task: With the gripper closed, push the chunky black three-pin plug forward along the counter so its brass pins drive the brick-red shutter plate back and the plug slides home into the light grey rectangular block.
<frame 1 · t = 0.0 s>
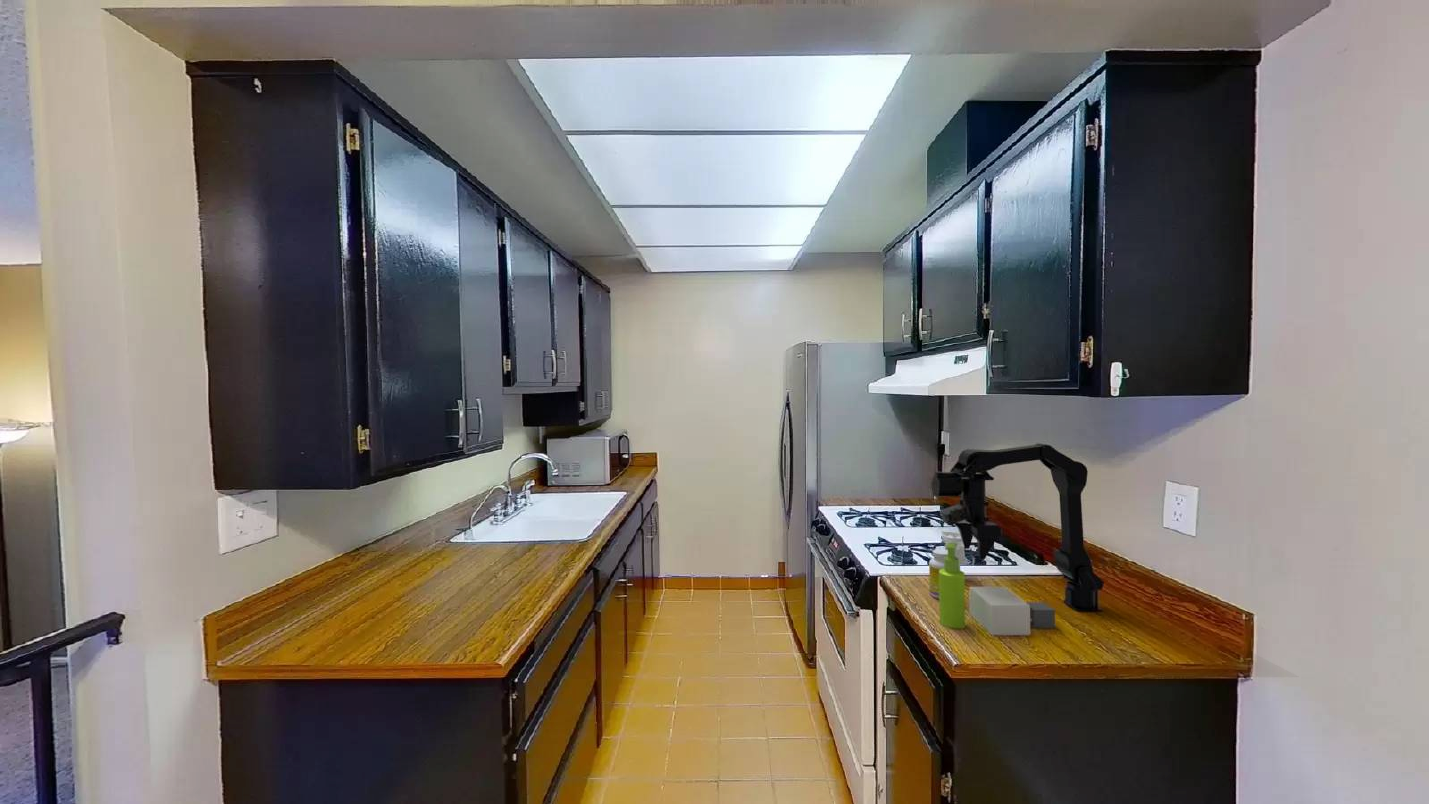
hand: (974, 553, 141), 15 cm above the counter, fingers open, 9 cm apart
strainer: (955, 579, 162), on the counter
supplement bottle: (942, 596, 149), on the counter
shutter: (1014, 613, 131), point 3 cm above the counter, slide at 0.0 cm
light grey rectangular block: (998, 623, 131), on the counter
soap dispenser: (952, 623, 133), on the counter
plug: (1039, 624, 131), on the counter
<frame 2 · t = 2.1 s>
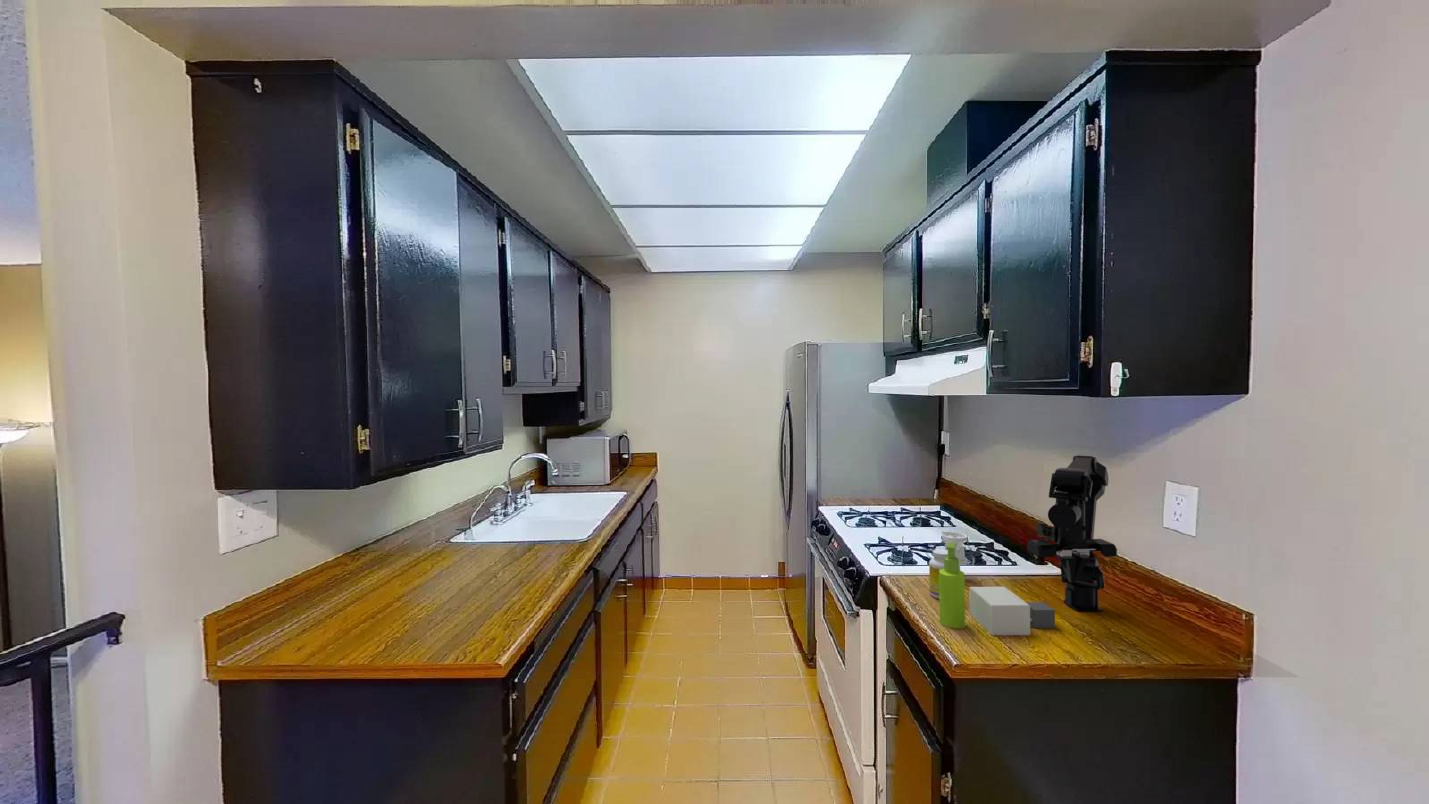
hand: (1071, 581, 130), 11 cm above the counter, fingers closed
nothing on the counter moved.
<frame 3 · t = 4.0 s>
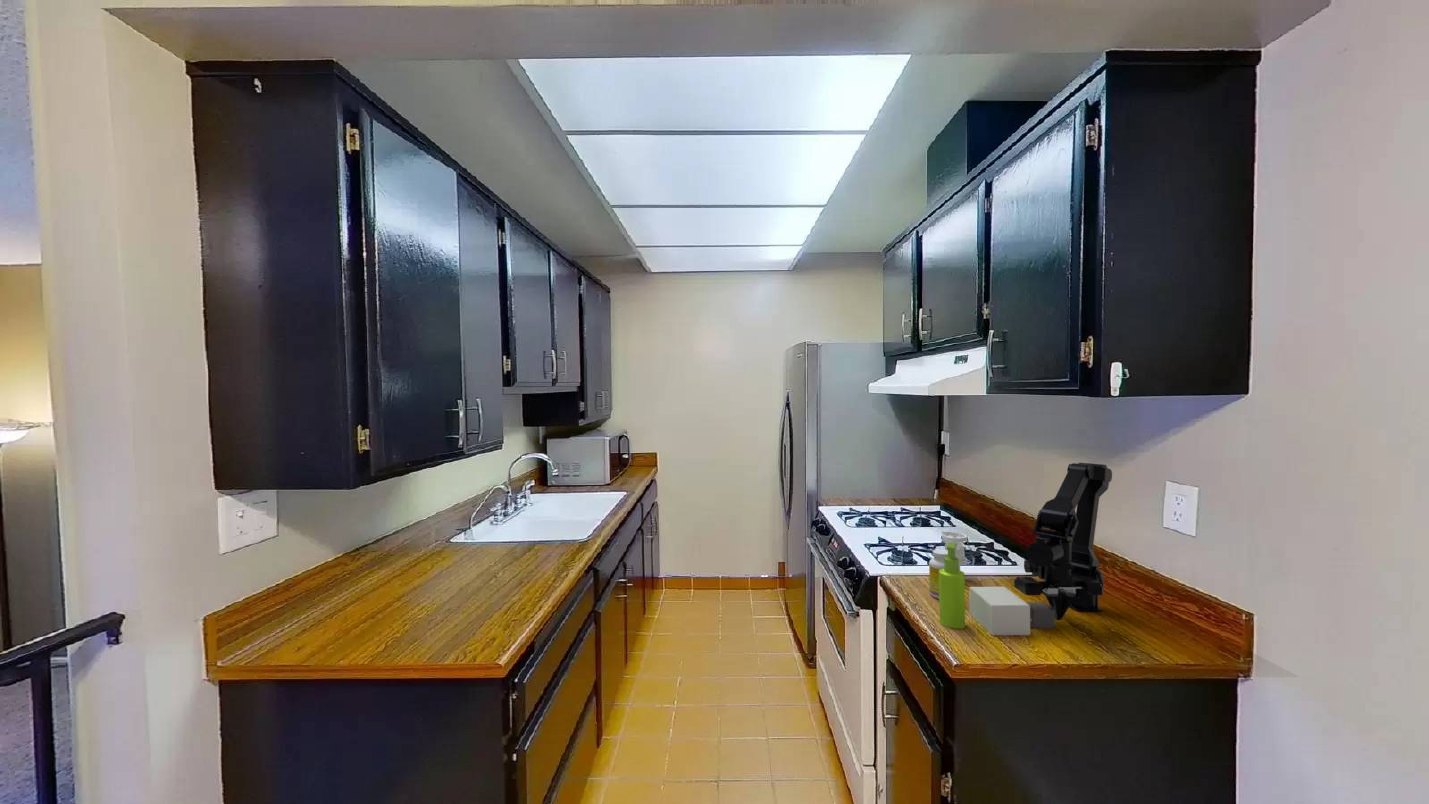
hand: (1057, 619, 130), 1 cm above the counter, fingers closed
plug: (1039, 624, 131), on the counter, touching gripper
everything else where it was.
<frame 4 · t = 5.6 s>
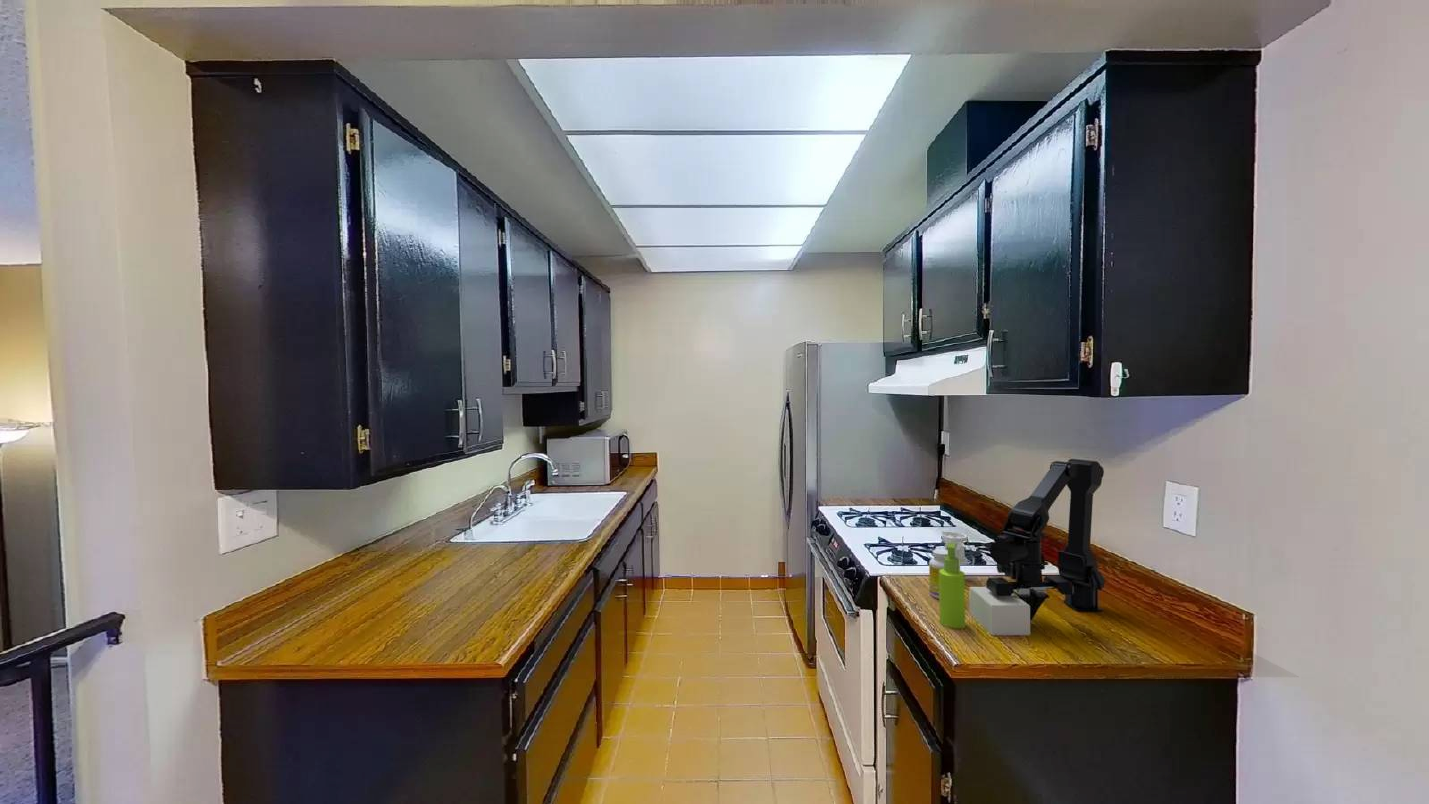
hand: (1029, 619, 131), 1 cm above the counter, fingers closed
shutter: (995, 613, 131), point 3 cm above the counter, slide at 4.7 cm
plug: (1011, 623, 131), on the counter, touching gripper
everything else where it was.
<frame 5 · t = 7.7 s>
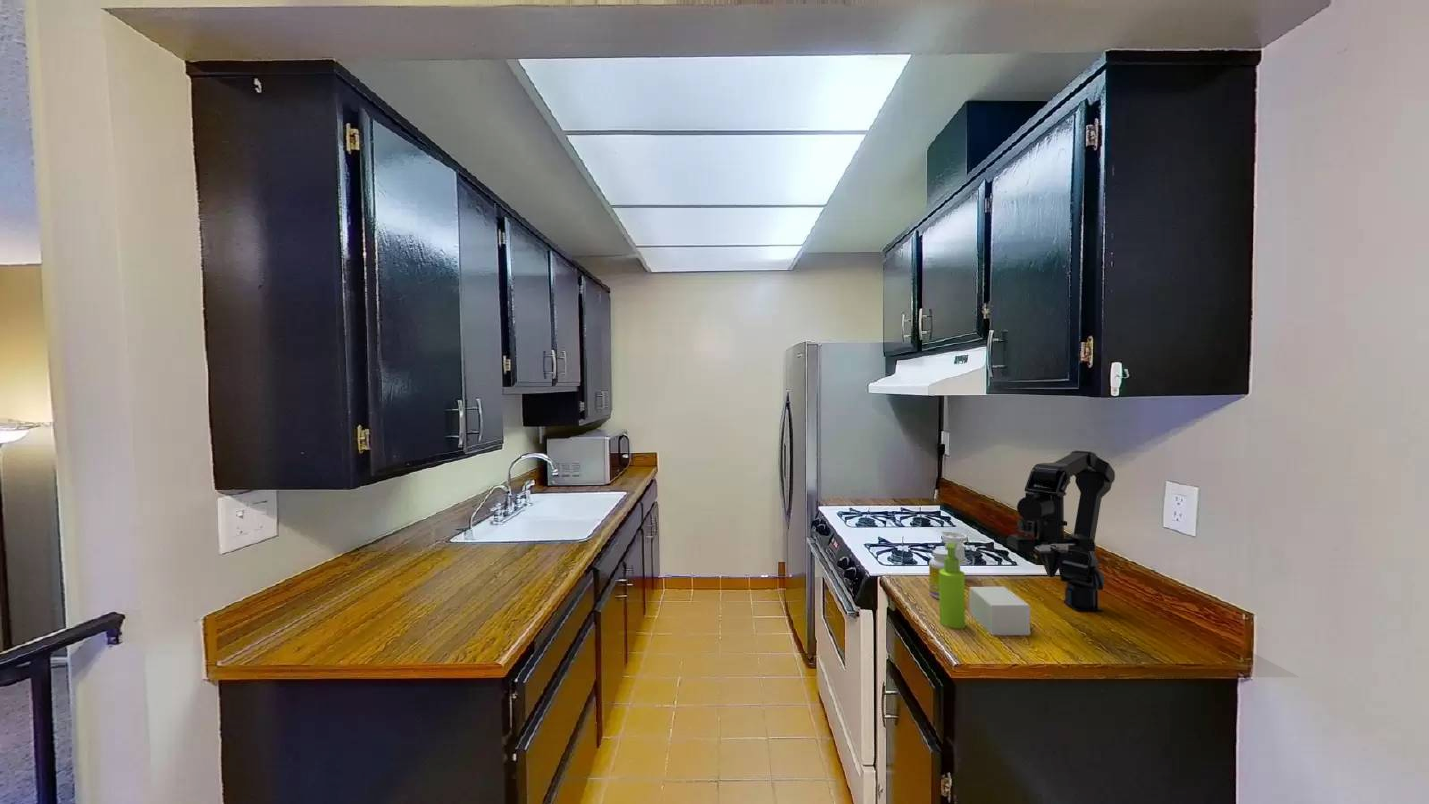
hand: (1050, 576, 130), 12 cm above the counter, fingers closed
plug: (1011, 624, 131), on the counter
everything else where it was.
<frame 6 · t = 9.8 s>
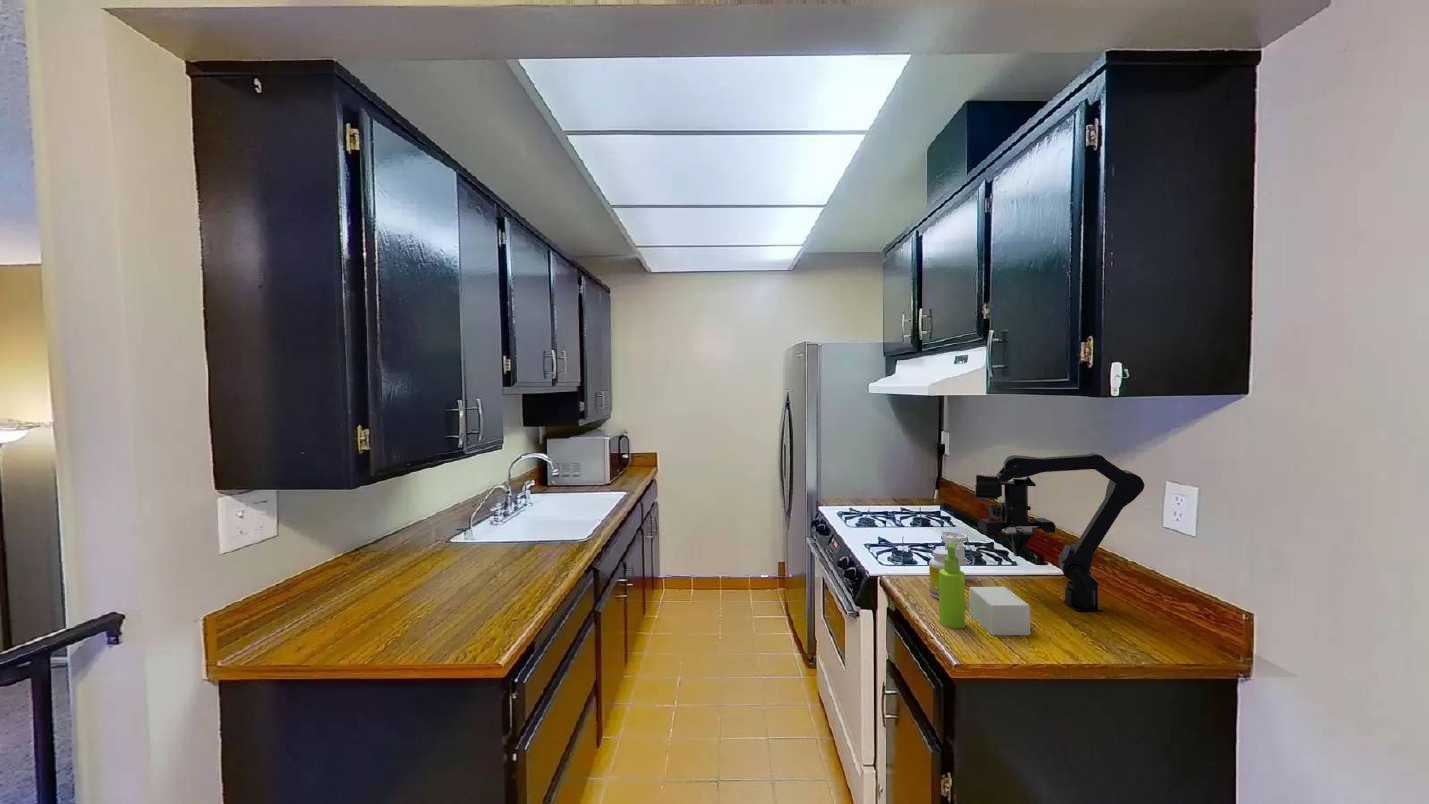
hand: (1016, 556, 146), 12 cm above the counter, fingers closed
nothing on the counter moved.
at the end: plug 0.1 cm from the target spot on the light grey rectangular block, point 0.0 cm above the light grey rectangular block's base; shutter slide at 4.7 cm; plug tilted 0° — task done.
